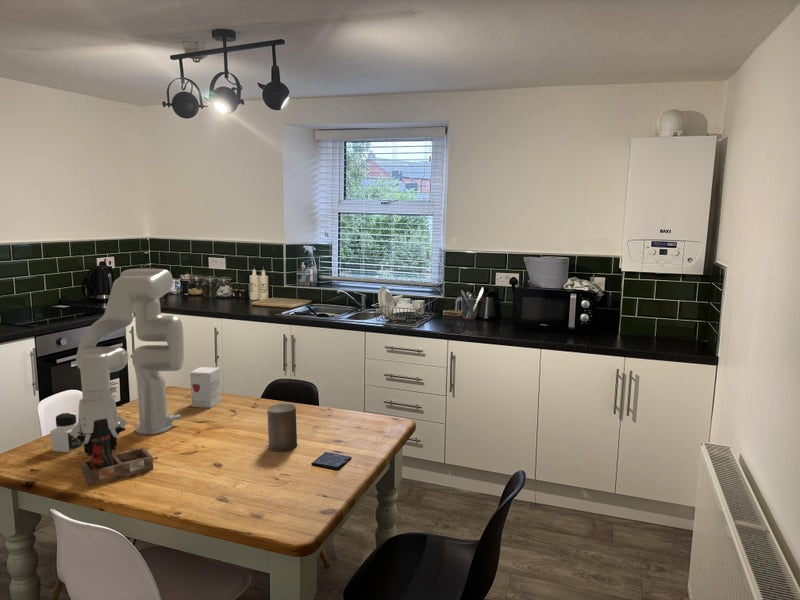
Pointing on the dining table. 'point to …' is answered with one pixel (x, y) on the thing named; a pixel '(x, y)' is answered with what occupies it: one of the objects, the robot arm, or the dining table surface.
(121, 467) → the divided compartment tray
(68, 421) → the medicine bottle
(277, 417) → the pillar candle
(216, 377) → the supplement box
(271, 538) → the dining table surface
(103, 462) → the deodorant
